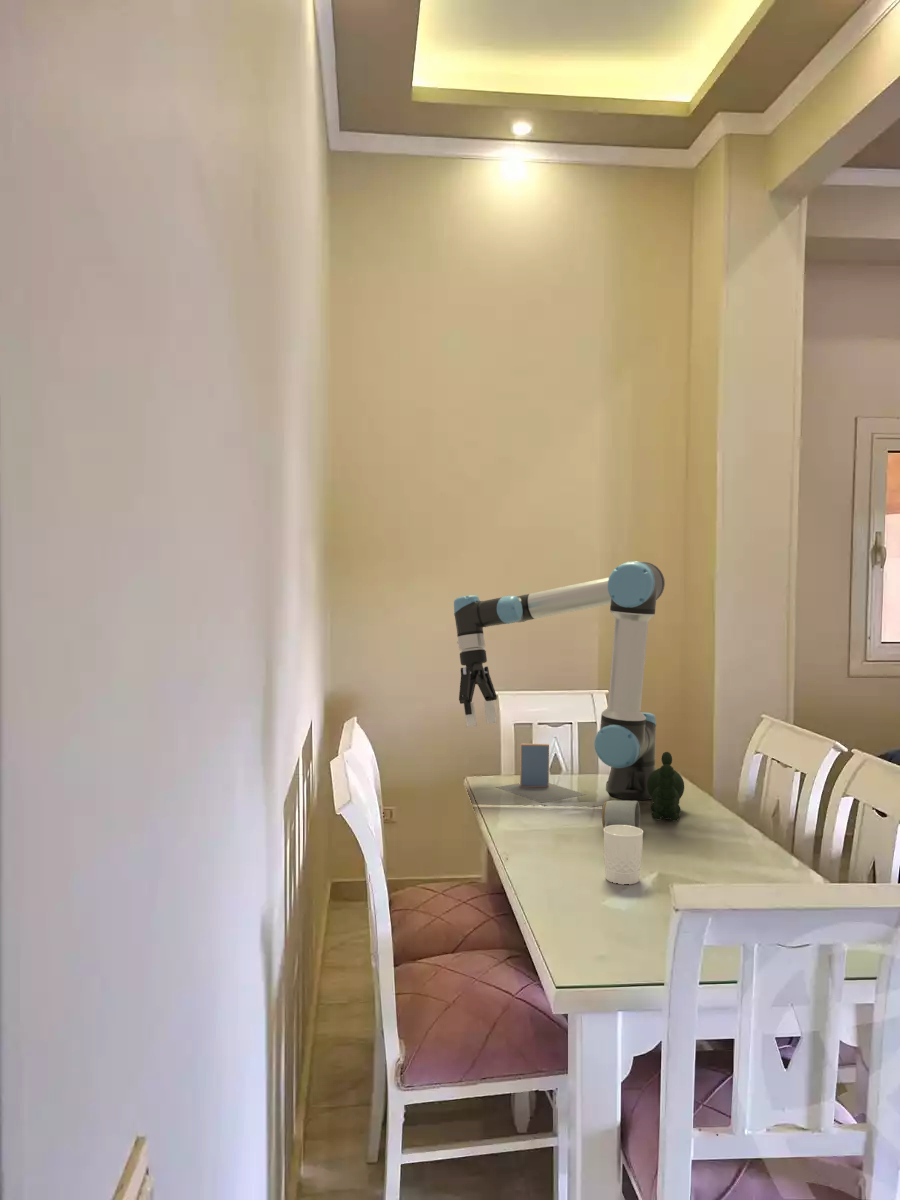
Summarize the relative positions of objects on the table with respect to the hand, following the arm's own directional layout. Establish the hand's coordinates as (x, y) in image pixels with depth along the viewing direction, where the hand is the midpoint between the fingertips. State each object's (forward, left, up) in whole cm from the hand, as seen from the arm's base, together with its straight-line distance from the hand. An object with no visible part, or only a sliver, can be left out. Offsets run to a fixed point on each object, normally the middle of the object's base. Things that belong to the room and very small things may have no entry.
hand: (481, 725), depth 252 cm
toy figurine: (-47, -24, -19) cm, 55 cm away
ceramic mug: (-51, -3, -19) cm, 55 cm away
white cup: (-74, +20, -19) cm, 79 cm away
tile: (-7, -13, -18) cm, 23 cm away
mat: (-12, -11, -18) cm, 25 cm away
